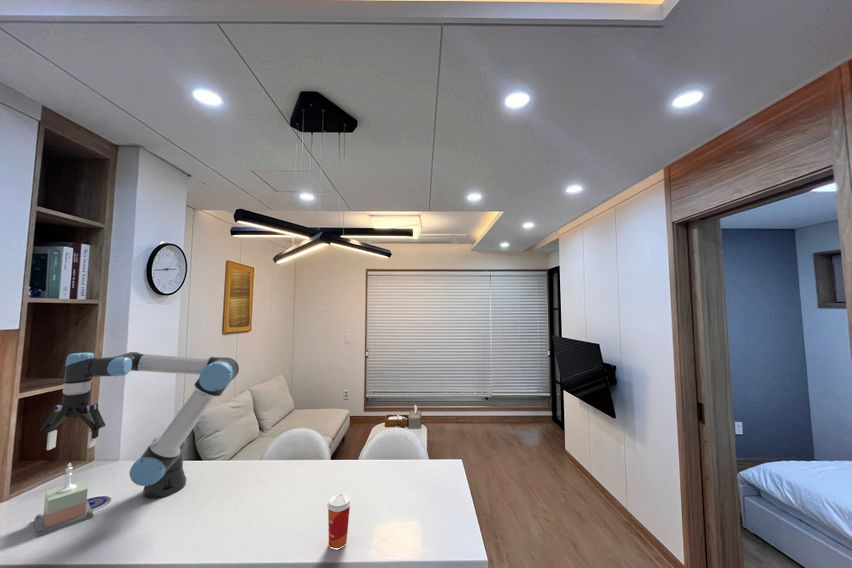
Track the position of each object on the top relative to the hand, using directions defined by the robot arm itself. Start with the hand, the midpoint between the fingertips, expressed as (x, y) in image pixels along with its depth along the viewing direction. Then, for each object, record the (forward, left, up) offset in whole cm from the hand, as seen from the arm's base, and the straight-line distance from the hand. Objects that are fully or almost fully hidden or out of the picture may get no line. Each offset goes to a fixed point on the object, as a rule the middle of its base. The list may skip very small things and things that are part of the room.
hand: (71, 447), depth 125 cm
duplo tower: (0, 0, -27) cm, 27 cm away
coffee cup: (-109, +7, -27) cm, 112 cm away
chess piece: (0, 0, -16) cm, 16 cm away
